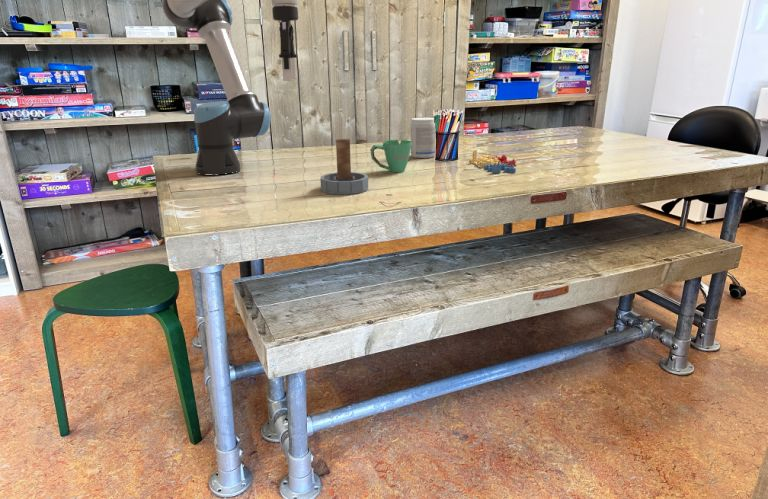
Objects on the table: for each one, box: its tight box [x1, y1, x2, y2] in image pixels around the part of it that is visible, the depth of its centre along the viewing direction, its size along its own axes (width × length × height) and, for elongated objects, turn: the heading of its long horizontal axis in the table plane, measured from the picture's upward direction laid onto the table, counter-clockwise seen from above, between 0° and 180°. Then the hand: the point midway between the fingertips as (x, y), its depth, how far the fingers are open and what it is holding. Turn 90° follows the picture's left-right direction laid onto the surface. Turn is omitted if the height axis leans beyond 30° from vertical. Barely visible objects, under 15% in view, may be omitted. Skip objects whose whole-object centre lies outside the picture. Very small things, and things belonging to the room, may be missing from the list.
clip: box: [334, 176, 355, 181], centre depth 161 cm, size 6×4×3 cm
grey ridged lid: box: [319, 171, 369, 196], centre depth 161 cm, size 14×14×4 cm
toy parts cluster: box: [469, 149, 517, 175], centre depth 201 cm, size 45×14×5 cm, turn 10°
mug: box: [370, 139, 412, 173], centre depth 184 cm, size 15×10×10 cm
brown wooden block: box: [335, 138, 352, 179], centre depth 159 cm, size 4×2×14 cm, turn 94°
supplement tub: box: [410, 117, 436, 159], centre depth 211 cm, size 10×10×15 cm
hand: (289, 80), depth 170 cm, fingers open, 13 cm apart
